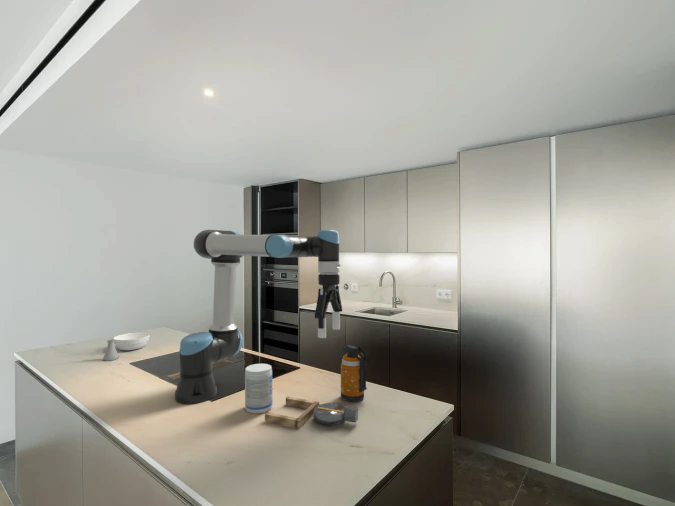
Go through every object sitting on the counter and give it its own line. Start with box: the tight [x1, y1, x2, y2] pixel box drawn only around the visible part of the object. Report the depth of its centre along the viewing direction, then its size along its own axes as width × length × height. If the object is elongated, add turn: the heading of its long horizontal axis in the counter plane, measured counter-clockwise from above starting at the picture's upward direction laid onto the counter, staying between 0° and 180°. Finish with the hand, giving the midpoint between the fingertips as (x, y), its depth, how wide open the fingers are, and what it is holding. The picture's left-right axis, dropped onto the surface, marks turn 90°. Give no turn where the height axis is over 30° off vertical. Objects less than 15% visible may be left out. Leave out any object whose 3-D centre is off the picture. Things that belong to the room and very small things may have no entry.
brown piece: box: [264, 396, 320, 430], centre depth 120 cm, size 13×15×2 cm
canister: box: [340, 344, 368, 402], centre depth 133 cm, size 9×11×20 cm
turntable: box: [313, 402, 359, 425], centre depth 115 cm, size 15×11×4 cm
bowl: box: [112, 332, 151, 351], centre depth 202 cm, size 18×18×7 cm
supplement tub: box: [244, 363, 273, 414], centre depth 125 cm, size 10×10×15 cm
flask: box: [102, 338, 120, 362], centre depth 182 cm, size 7×7×10 cm
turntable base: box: [321, 423, 339, 426], centre depth 116 cm, size 7×7×1 cm
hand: (329, 333), depth 124 cm, fingers open, 13 cm apart
